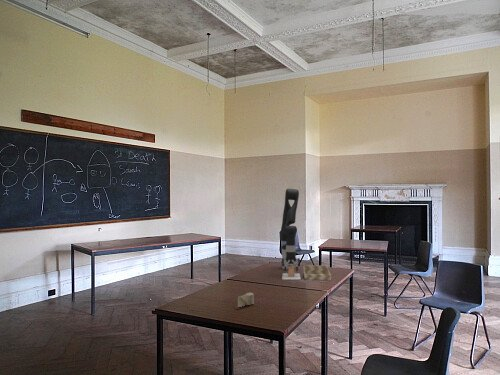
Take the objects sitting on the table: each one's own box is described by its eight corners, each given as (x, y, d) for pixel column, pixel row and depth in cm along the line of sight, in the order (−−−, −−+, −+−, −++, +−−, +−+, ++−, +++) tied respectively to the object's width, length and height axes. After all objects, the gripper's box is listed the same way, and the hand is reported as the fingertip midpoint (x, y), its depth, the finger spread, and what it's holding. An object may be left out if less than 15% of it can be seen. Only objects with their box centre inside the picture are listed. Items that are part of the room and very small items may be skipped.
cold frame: (304, 279, 279) (304, 270, 279) (303, 274, 299) (303, 265, 299) (331, 279, 277) (331, 270, 277) (328, 274, 297) (328, 265, 297)
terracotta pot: (287, 276, 287) (287, 266, 287) (287, 275, 293) (287, 265, 293) (295, 276, 287) (295, 266, 287) (294, 275, 293) (294, 265, 293)
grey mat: (282, 279, 281) (282, 278, 281) (282, 274, 301) (282, 273, 301) (300, 279, 279) (300, 278, 279) (299, 274, 299) (299, 273, 299)
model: (253, 305, 217) (253, 292, 218) (242, 310, 209) (242, 296, 209) (249, 304, 219) (249, 291, 220) (238, 308, 211) (237, 295, 211)
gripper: (299, 250, 293) (300, 270, 293) (281, 250, 295) (282, 270, 295) (299, 251, 286) (300, 272, 286) (281, 251, 287) (282, 272, 287)
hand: (291, 271), depth 290 cm, fingers open, 8 cm apart
